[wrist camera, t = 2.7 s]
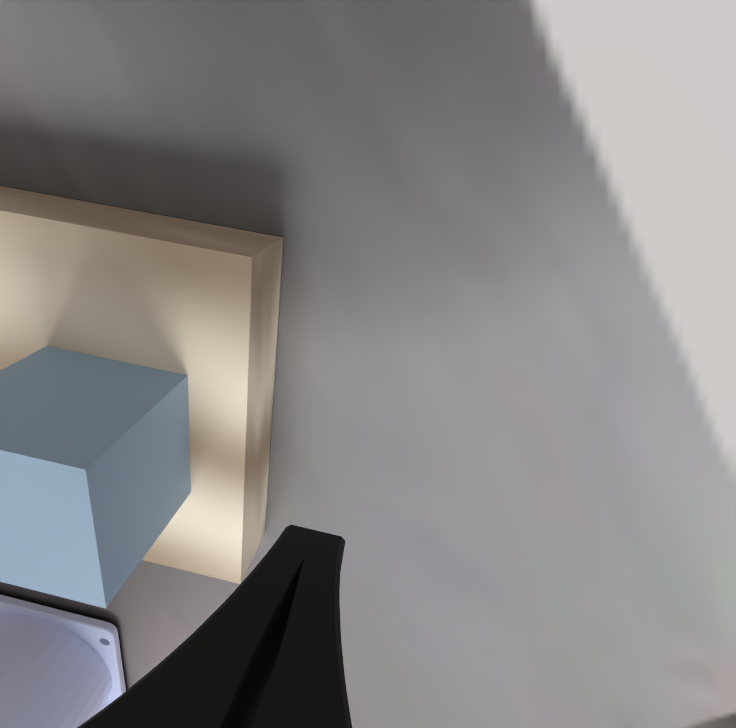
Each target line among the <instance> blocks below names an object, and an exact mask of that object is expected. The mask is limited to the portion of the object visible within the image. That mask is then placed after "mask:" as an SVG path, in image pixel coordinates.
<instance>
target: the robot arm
mask: <svg viewBox="0 0 736 728" xmlns="http://www.w3.org/2000/svg"><path fill="white" fill-rule="evenodd" d="M344 546H345V540H344V539H343V538H342V537H341V536H337V535H333V534H328V533H324V532H320V531H316V530H311V529H307V528H303V527H298V526H294V525H290V526H288V527H286V528H285V529H284V531H283V532H282V534H281V535H280V537H279V538H278V540H277V541H276V542H275V544H274V545H273V546H272V548H271V549H270V550H269V551H268V553H267V554H266V555H265V556H264V558H263V559H262V560H261V561H260V562H259V564H258V565H257V566H256V567H255V569H254V570H253V571H252V572H251V573H250V574H249V575H248V577H247V578H246V579H245V580H244V581H243V582H242V583H241V584H240V585H239V587H238V588H237V589H236V590H235V591H234V592H233V593H232V594H231V595H230V597H229V598H228V599H227V600H226V601H225V602H224V603H223V604H222V605H221V606H220V607H219V608H218V609H217V610H216V611H215V612H214V613H213V614H212V615H211V616H210V617H209V618H208V619H207V620H206V621H205V622H204V623H203V624H202V625H201V626H200V627H199V628H198V629H197V630H196V631H195V632H194V633H193V634H192V635H191V636H190V637H189V638H187V639H186V640H185V641H184V642H183V643H182V644H181V645H180V646H179V647H178V648H177V649H175V650H174V651H173V652H172V653H171V654H170V655H169V656H168V657H166V658H165V659H164V660H163V661H162V662H161V663H160V664H158V665H157V666H156V667H155V668H154V669H152V670H151V671H150V672H149V673H148V674H146V675H145V676H144V677H143V678H141V679H140V680H139V681H138V682H137V683H135V684H134V685H133V686H132V687H130V688H129V689H128V690H127V691H126V688H125V681H124V674H123V666H122V659H121V652H120V645H119V637H118V631H117V628H116V627H115V626H114V625H113V624H111V623H109V622H106V621H102V620H98V619H94V618H90V617H86V616H82V615H78V614H75V613H71V612H67V611H63V610H59V609H55V608H51V607H47V606H43V605H40V604H36V603H32V602H28V601H24V600H20V599H16V598H12V597H8V596H4V595H1V594H0V728H352V724H351V718H350V712H349V705H348V698H347V691H346V684H345V675H344V666H343V656H342V645H341V632H340V606H339V587H340V570H341V564H342V558H343V552H344Z"/></svg>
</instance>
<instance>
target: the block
mask: <svg viewBox="0 0 736 728" xmlns="http://www.w3.org/2000/svg"><path fill="white" fill-rule="evenodd" d="M190 493H191V473H190V436H189V400H188V375H184V374H179V373H174V372H169V371H165V370H160V369H155V368H150V367H146V366H141V365H136V364H131V363H126V362H122V361H117V360H112V359H107V358H103V357H98V356H93V355H88V354H84V353H79V352H74V351H69V350H64V349H60V348H55V347H50V346H46V347H44V348H42V349H40V350H38V351H36V352H34V353H32V354H31V355H29V356H27V357H25V358H23V359H21V360H19V361H17V362H16V363H14V364H12V365H10V366H8V367H6V368H4V369H2V370H1V371H0V582H3V583H7V584H11V585H15V586H19V587H23V588H27V589H31V590H35V591H39V592H43V593H47V594H51V595H55V596H59V597H62V598H66V599H70V600H74V601H78V602H82V603H86V604H90V605H94V606H98V607H102V608H107V607H108V606H109V604H110V603H111V601H112V600H113V599H114V597H115V596H116V595H117V593H118V592H119V590H120V589H121V588H122V586H123V585H124V584H125V582H126V581H127V579H128V578H129V577H130V575H131V574H132V573H133V571H134V570H135V568H136V567H137V566H138V564H139V563H140V562H141V560H142V559H143V558H144V556H145V555H146V553H147V552H148V551H149V549H150V548H151V547H152V545H153V544H154V542H155V541H156V540H157V538H158V537H159V536H160V534H161V533H162V531H163V530H164V529H165V527H166V526H167V525H168V523H169V522H170V520H171V519H172V518H173V516H174V515H175V514H176V512H177V511H178V509H179V508H180V507H181V505H182V504H183V503H184V501H185V500H186V499H187V497H188V496H189V494H190Z"/></svg>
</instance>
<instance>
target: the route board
mask: <svg viewBox="0 0 736 728" xmlns="http://www.w3.org/2000/svg"><path fill="white" fill-rule="evenodd" d="M282 252H283V237H278V236H272V235H267V234H261V233H256V232H250V231H245V230H239V229H234V228H228V227H223V226H218V225H212V224H207V223H201V222H196V221H190V220H185V219H179V218H174V217H168V216H163V215H157V214H152V213H146V212H141V211H135V210H130V209H124V208H119V207H113V206H108V205H102V204H97V203H91V202H86V201H80V200H75V199H69V198H64V197H58V196H53V195H48V194H42V193H37V192H31V191H26V190H20V189H15V188H9V187H4V186H0V371H1V370H2V369H4V368H6V367H8V366H10V365H12V364H14V363H16V362H17V361H19V360H21V359H23V358H25V357H27V356H29V355H31V354H32V353H34V352H36V351H38V350H40V349H42V348H44V347H46V346H50V347H55V348H60V349H64V350H69V351H74V352H79V353H84V354H88V355H93V356H98V357H103V358H107V359H112V360H117V361H122V362H126V363H131V364H136V365H141V366H146V367H150V368H155V369H160V370H165V371H169V372H174V373H179V374H184V375H188V400H189V436H190V473H191V493H190V494H189V496H188V497H187V499H186V500H185V501H184V503H183V504H182V505H181V507H180V508H179V509H178V511H177V512H176V514H175V515H174V516H173V518H172V519H171V520H170V522H169V523H168V525H167V526H166V527H165V529H164V530H163V531H162V533H161V534H160V536H159V537H158V538H157V540H156V541H155V542H154V544H153V545H152V547H151V548H150V549H149V551H148V552H147V553H146V555H145V556H144V558H143V559H142V560H144V561H148V562H152V563H156V564H160V565H165V566H169V567H173V568H177V569H181V570H185V571H189V572H193V573H197V574H201V575H205V576H210V577H214V578H218V579H222V580H226V581H230V582H234V583H238V584H241V582H242V580H243V578H244V576H245V574H246V572H247V570H248V568H249V565H250V563H251V561H252V559H253V557H254V555H255V553H256V551H257V549H258V546H259V544H260V542H261V540H262V538H263V536H264V534H265V522H266V506H267V490H268V474H269V458H270V443H271V427H272V411H273V395H274V379H275V363H276V347H277V332H278V316H279V300H280V284H281V268H282Z"/></svg>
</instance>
